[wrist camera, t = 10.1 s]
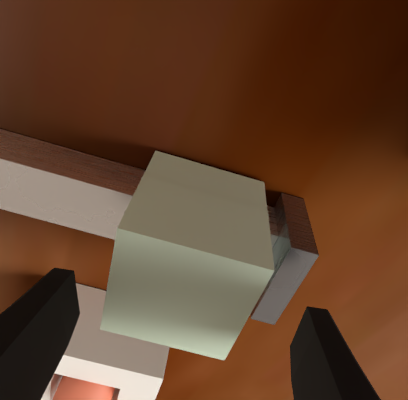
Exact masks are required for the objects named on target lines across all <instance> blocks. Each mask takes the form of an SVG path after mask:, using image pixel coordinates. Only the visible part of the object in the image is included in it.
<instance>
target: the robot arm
mask: <svg viewBox="0 0 408 400" xmlns="http://www.w3.org/2000/svg"><path fill="white" fill-rule="evenodd" d="M79 315H80V309H79V302H78V295H77V288H76V282H75V275H74V271H72V270H66V269H59V268H54V269H52V270H51V271H50V272H49V273H47V274H46V275H45V276H44V277H43V278H42V279H41V280H40V281H38V282H37V283H36V284H35V285H34V286H33V287H32V288H31V289H29V290H28V291H27V292H26V293H25V294H24V295H23V296H21V297H20V298H19V299H18V300H17V301H16V302H14V303H13V304H12V305H11V306H10V307H8V308H7V309H6V310H5V311H4V312H2V313H1V314H0V400H41V398H42V396H43V394H44V392H45V390H46V388H47V386H48V384H49V382H50V380H51V379H52V377H53V375H54V373H55V371H56V369H57V367H58V365H59V363H60V361H61V359H62V357H63V355H64V353H65V351H66V349H67V347H68V345H69V342H70V339H71V337H72V334H73V332H74V329H75V326H76V324H77V321H78V318H79ZM290 358H291V381H292V388H293V395H294V400H381V399H380V398H379V396H378V395H377V393H376V392H375V390H374V388H373V387H372V385H371V384H370V382H369V380H368V379H367V377H366V375H365V374H364V372H363V371H362V369H361V367H360V366H359V364H358V362H357V361H356V359H355V357H354V356H353V354H352V352H351V350H350V349H349V347H348V345H347V343H346V342H345V340H344V338H343V336H342V335H341V333H340V331H339V329H338V327H337V326H336V324H335V322H334V320H333V318H332V316H331V315H330V313H329V311H328V310H327V309H320V308H314V307H307V308H306V310H305V312H304V315H303V317H302V319H301V322H300V324H299V327H298V329H297V331H296V334H295V336H294V338H293V341H292V343H291V345H290Z"/></svg>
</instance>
